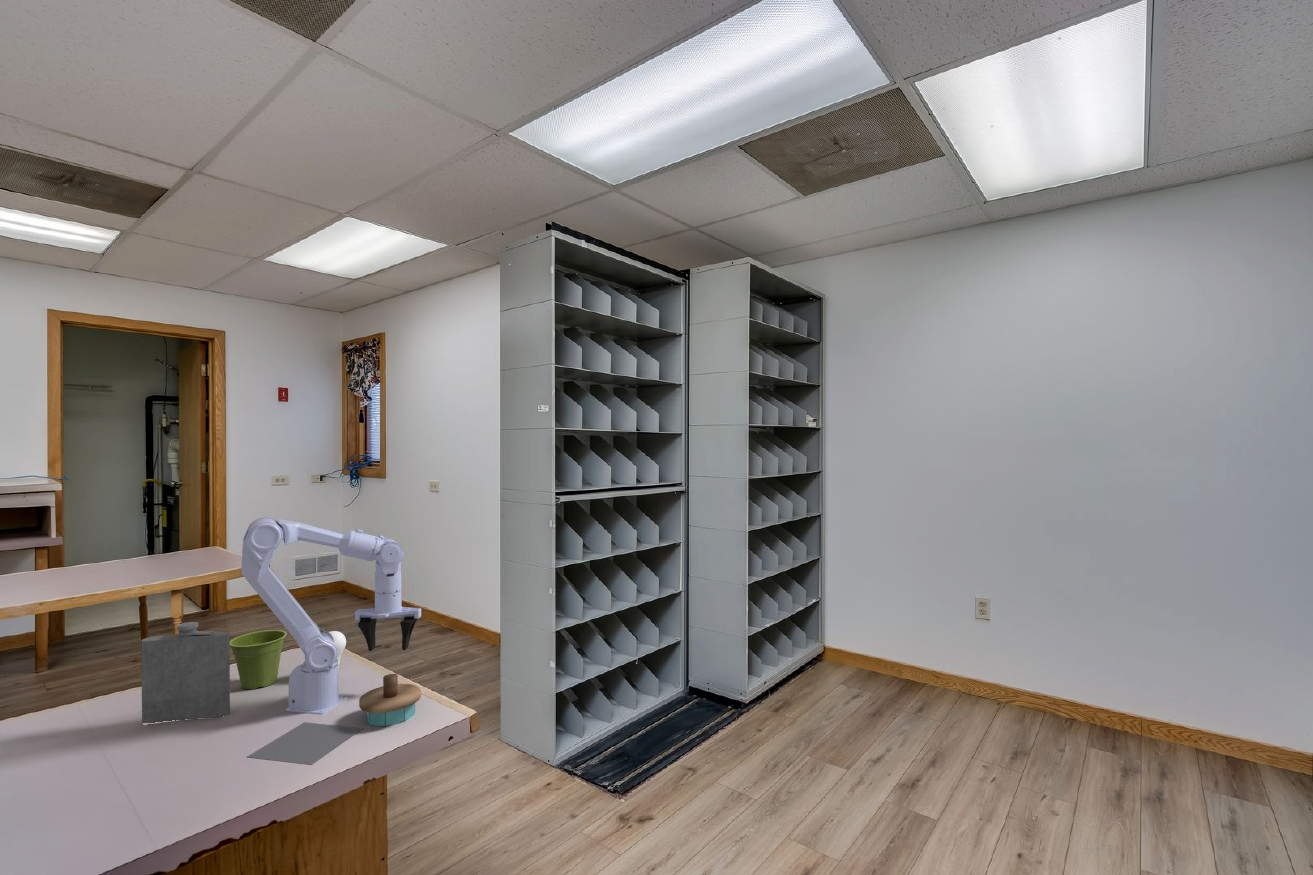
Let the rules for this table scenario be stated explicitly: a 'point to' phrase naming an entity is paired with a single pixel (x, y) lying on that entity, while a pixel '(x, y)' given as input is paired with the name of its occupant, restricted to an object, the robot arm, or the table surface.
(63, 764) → the table surface
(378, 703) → the lid
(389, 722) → the bowl
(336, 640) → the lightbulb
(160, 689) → the hip flask
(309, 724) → the mat
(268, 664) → the plant pot
